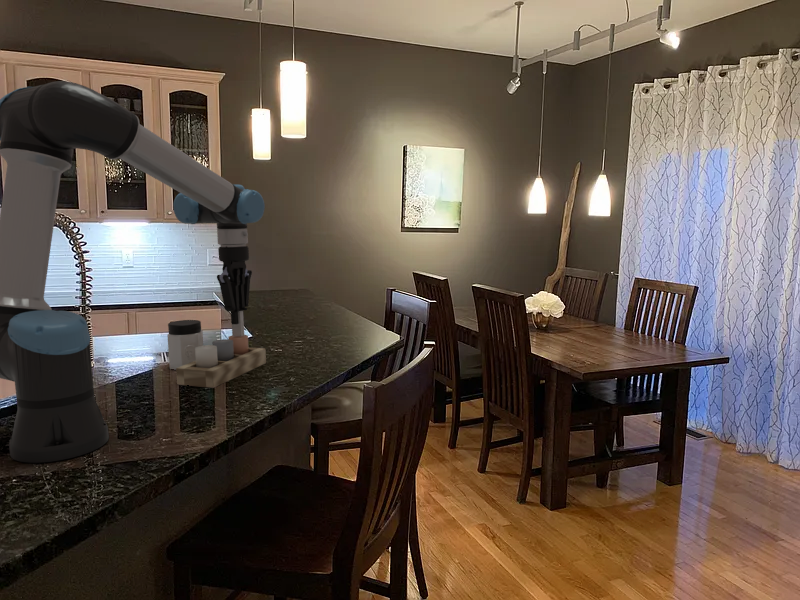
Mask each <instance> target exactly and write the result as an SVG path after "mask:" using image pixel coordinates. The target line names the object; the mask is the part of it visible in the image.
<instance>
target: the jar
mask: <svg viewBox="0 0 800 600" xmlns="http://www.w3.org/2000/svg"><path fill="white" fill-rule="evenodd" d="M167 327H168V328H167V329H168V330H167V331H168V333H167V348H168V350H167V351H168V361H169V363H168V365H169V370H171V369H174V370H173V371H176V368H178V367H181V366H183V365H186V364H189V363H191V362H194V361H196V355H195V348H196V347H199V346H204V334H203V333H204V332H203V330H202V322H201V320H197V319H182V320H173V321H171V322H169V323H168V324H167Z"/></svg>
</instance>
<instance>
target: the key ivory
mask: <svg viewBox="0 0 800 600" xmlns="http://www.w3.org/2000/svg"><path fill="white" fill-rule="evenodd" d="M195 355H196V367H199V368H212V367H215V366H217V365H218V358H217V346H214V345H213V344H211V345H210V344H209V345H207V344H205V345H204V344H203V346H199V347H196V348H195Z"/></svg>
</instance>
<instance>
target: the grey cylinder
mask: <svg viewBox="0 0 800 600" xmlns="http://www.w3.org/2000/svg"><path fill="white" fill-rule="evenodd" d="M211 345H214V346H217V358H218V361H229V360H232V359H234V349H233V340H229V339H225V338H223V339H216V340H213V341H212V344H211Z"/></svg>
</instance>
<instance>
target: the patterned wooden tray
mask: <svg viewBox="0 0 800 600" xmlns="http://www.w3.org/2000/svg"><path fill="white" fill-rule="evenodd" d="M248 347H249V346H248ZM266 352H267V351H266V348H264V347H263V348H262V347H249V352H248V353H246V354H244V355H238V354H234V359H232V360H229V361H218V365H217V366H215V367H212V368H199V367H196V361H194V362H191V363H189V364H186V365H183V366H181V367H178V368H176V370H175V371H176V373H175V374H176V383H177V385H179V386H187V385H189V386H190V387H200V388H209V389H210V388H217V387H218V386H220V385H223V384H224V383H227V382H229V381H230V380H233V379H235V378H238V377H240V376H241V375H244V374H246V373H248V372H251V371H253V370H254V369H256V368H258V367H261V366H263V365H265V364H267V357H266V355H267V354H266Z"/></svg>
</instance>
